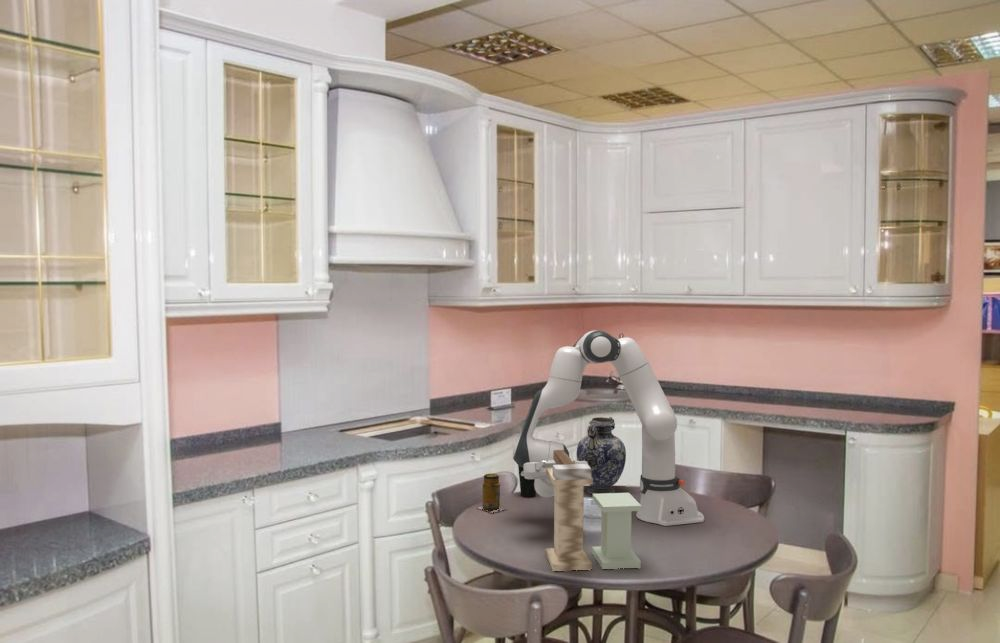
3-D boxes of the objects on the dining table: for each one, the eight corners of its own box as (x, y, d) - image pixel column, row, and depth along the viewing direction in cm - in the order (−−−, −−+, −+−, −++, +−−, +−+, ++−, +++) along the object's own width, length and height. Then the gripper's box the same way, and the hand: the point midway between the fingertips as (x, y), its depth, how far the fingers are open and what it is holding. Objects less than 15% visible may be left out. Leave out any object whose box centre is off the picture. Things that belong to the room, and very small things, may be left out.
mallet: (574, 459, 241) (574, 449, 241) (591, 479, 218) (591, 468, 218) (542, 460, 240) (542, 450, 240) (555, 480, 217) (555, 469, 217)
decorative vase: (589, 481, 312) (590, 411, 310) (633, 488, 303) (635, 417, 300) (565, 495, 294) (567, 421, 291) (612, 503, 284) (614, 427, 282)
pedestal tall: (581, 553, 233) (582, 467, 231) (591, 570, 220) (592, 479, 218) (545, 555, 232) (546, 468, 230) (553, 571, 219) (553, 480, 217)
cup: (527, 491, 298) (528, 460, 297) (542, 495, 293) (543, 463, 292) (513, 495, 293) (513, 463, 292) (528, 499, 287) (528, 467, 286)
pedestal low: (628, 551, 235) (628, 492, 233) (640, 568, 222) (641, 505, 220) (591, 553, 233) (592, 493, 232) (602, 569, 220) (603, 506, 219)
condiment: (492, 504, 282) (492, 471, 281) (508, 510, 275) (508, 476, 274) (476, 508, 277) (476, 474, 276) (491, 514, 271) (491, 479, 270)
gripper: (519, 466, 252) (524, 453, 239) (582, 464, 254) (590, 451, 241) (520, 485, 249) (525, 473, 236) (584, 483, 251) (592, 471, 239)
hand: (559, 462), depth 239 cm, fingers open, 8 cm apart
